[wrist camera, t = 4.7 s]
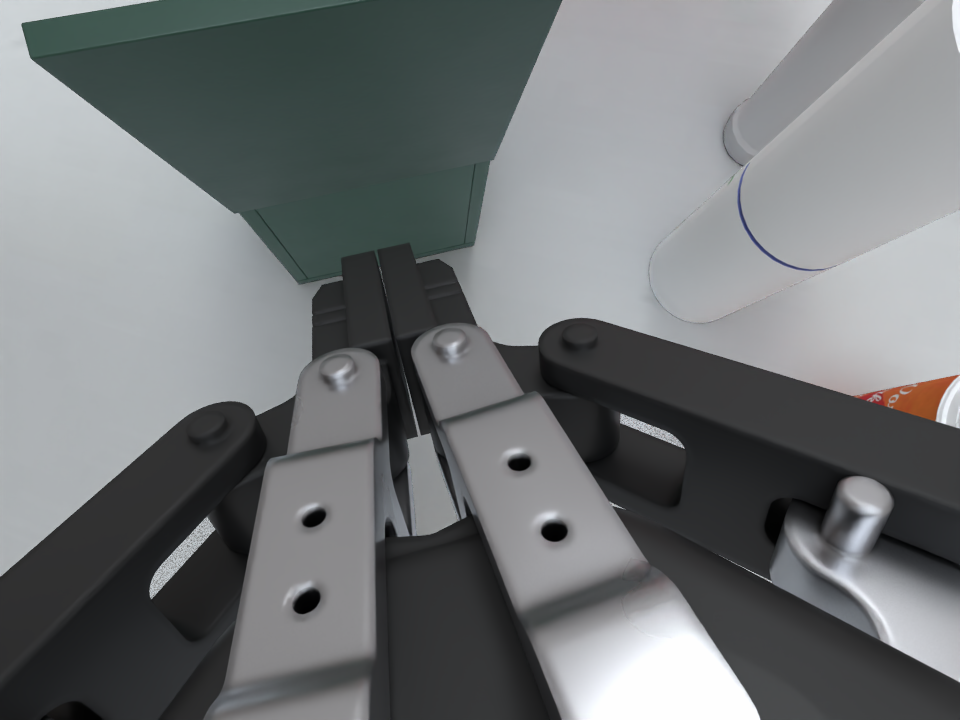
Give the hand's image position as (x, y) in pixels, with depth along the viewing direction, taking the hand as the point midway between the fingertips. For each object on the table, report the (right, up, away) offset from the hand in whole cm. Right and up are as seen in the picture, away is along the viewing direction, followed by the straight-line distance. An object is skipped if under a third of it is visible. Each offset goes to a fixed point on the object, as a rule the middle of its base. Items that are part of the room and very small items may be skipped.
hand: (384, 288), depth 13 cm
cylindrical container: (+18, +5, +30) cm, 35 cm away
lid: (-3, +7, +8) cm, 11 cm away
